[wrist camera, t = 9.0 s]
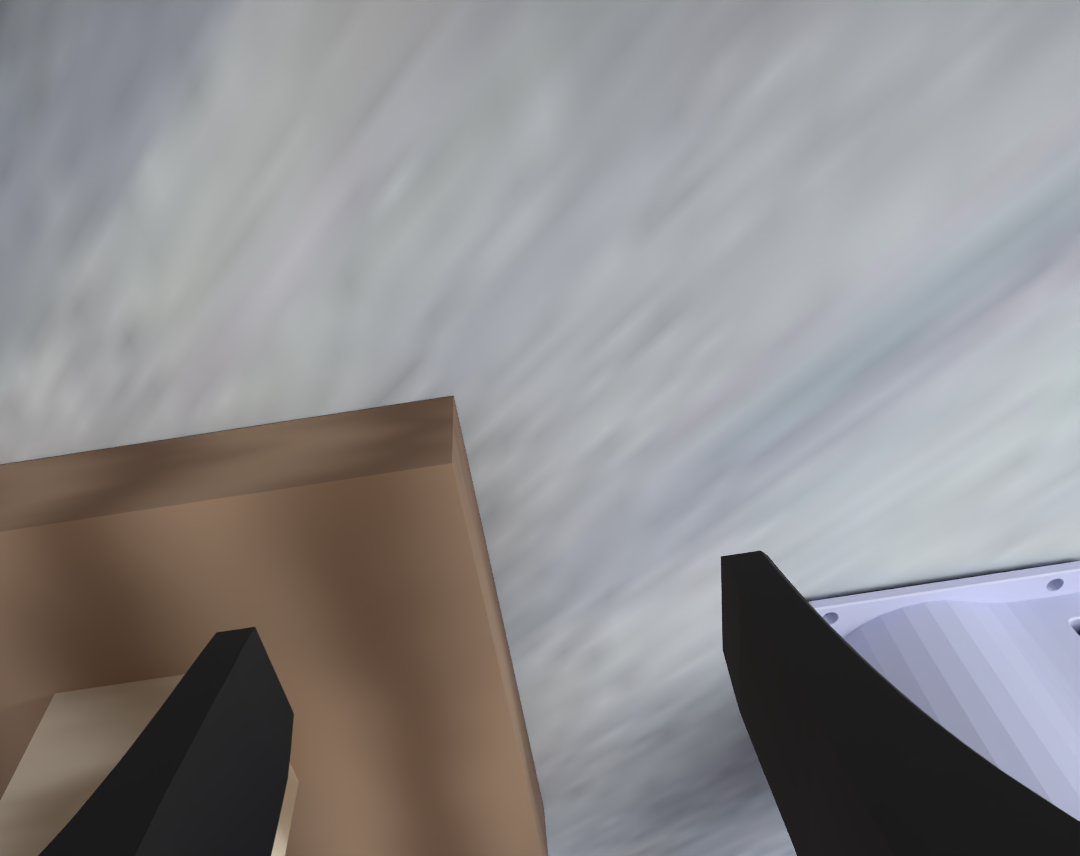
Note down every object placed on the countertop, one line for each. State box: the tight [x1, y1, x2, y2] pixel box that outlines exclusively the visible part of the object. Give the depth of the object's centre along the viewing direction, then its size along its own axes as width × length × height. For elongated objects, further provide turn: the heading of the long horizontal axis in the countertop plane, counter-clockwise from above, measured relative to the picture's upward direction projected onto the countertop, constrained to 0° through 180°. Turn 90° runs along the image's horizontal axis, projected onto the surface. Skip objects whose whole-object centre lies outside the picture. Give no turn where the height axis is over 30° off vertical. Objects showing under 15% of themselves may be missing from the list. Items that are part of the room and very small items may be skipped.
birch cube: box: [0, 674, 299, 856], centre depth 21 cm, size 5×5×5 cm
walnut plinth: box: [0, 396, 548, 856], centre depth 25 cm, size 18×18×3 cm
